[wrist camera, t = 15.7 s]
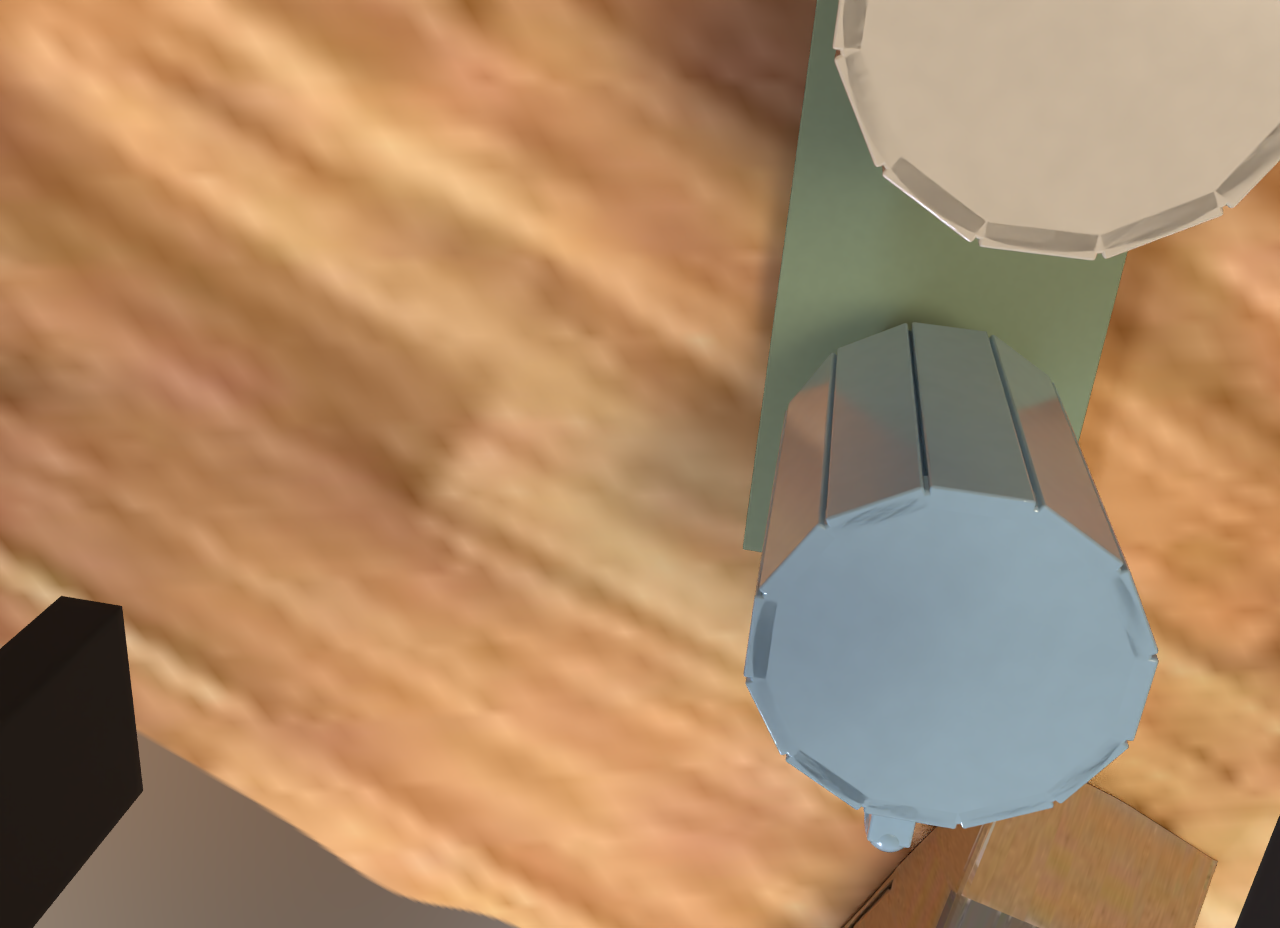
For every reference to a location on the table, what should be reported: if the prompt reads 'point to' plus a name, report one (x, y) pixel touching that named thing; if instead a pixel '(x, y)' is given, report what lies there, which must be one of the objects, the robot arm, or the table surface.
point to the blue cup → (942, 589)
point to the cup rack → (904, 274)
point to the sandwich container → (1047, 873)
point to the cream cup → (1066, 113)
